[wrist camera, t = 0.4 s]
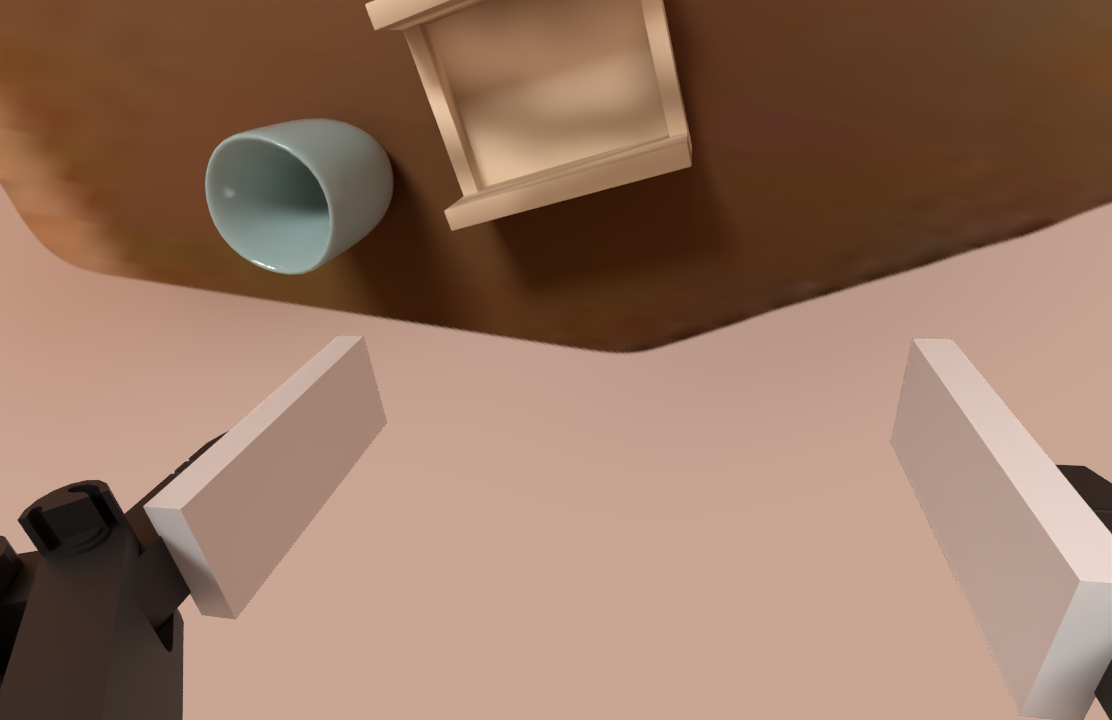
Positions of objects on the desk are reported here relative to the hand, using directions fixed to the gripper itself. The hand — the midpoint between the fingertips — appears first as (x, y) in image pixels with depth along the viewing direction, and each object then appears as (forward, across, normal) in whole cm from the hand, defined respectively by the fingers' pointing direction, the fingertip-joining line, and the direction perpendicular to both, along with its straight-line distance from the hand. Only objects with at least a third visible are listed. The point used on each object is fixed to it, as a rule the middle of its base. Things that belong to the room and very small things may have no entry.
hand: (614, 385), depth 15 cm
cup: (+26, -21, +1) cm, 33 cm away
